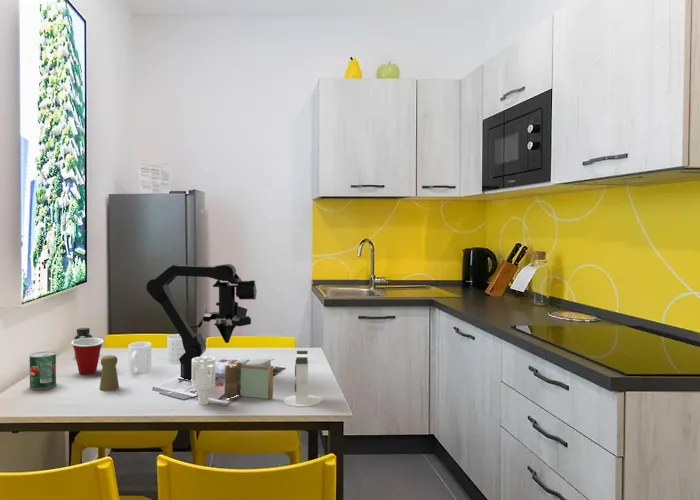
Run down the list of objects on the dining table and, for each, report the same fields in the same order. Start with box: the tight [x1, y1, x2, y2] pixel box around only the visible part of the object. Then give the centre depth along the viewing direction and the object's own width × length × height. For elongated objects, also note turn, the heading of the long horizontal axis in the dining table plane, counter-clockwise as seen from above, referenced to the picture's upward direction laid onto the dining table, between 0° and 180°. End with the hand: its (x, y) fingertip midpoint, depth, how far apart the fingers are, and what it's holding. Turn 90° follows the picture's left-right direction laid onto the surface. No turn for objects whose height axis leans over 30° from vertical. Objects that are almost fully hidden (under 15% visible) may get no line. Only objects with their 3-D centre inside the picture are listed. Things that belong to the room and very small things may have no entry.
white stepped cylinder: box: [191, 355, 216, 406], centre depth 175 cm, size 7×7×15 cm
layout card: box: [158, 390, 193, 401], centre depth 185 cm, size 12×9×1 cm
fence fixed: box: [224, 362, 241, 399], centre depth 181 cm, size 2×6×11 cm, turn 147°
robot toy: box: [233, 358, 275, 366], centre depth 215 cm, size 12×4×15 cm
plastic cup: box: [71, 337, 104, 375], centre depth 209 cm, size 11×11×12 cm
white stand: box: [283, 350, 321, 408], centre depth 179 cm, size 12×11×15 cm
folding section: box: [240, 364, 274, 400], centre depth 182 cm, size 2×11×10 cm, turn 75°
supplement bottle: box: [73, 327, 94, 359], centre depth 232 cm, size 7×7×12 cm
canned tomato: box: [29, 351, 57, 390], centre depth 191 cm, size 8×8×11 cm
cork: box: [99, 354, 120, 392], centre depth 190 cm, size 6×6×11 cm
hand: (226, 342), depth 203 cm, fingers closed
